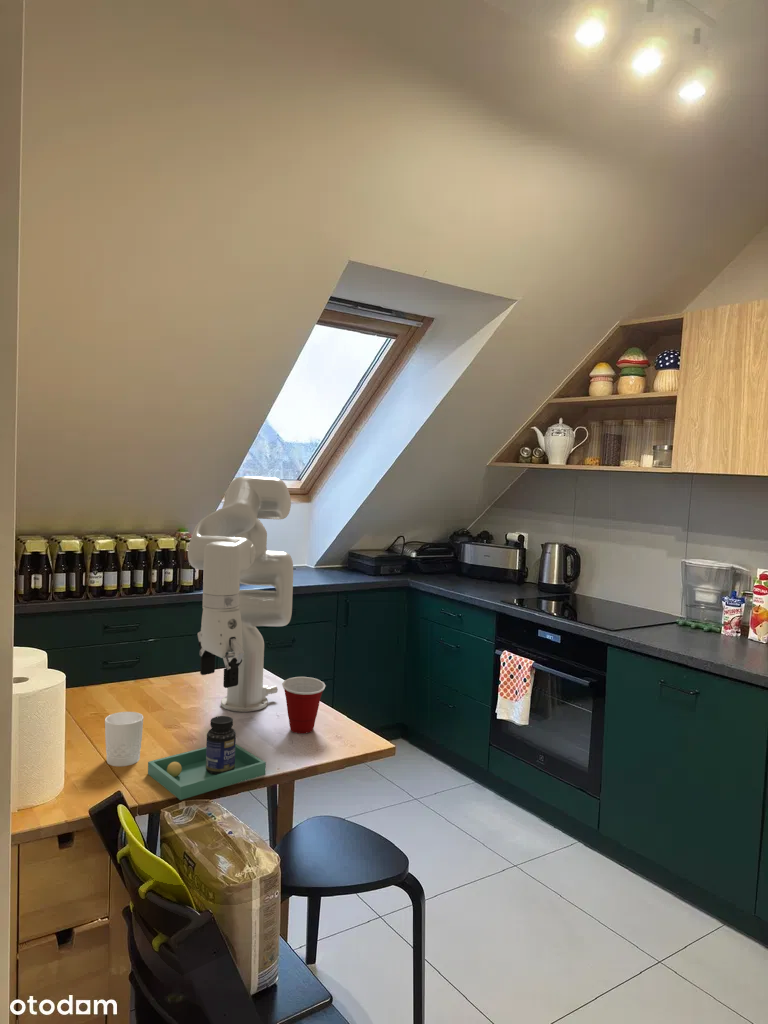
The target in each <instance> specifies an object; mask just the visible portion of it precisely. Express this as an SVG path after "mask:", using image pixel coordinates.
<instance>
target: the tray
mask: <svg viewBox="0 0 768 1024" xmlns="http://www.w3.org/2000/svg"><path fill="white" fill-rule="evenodd" d="M172 762H178V763H180V765H181V767H182V771H181V773H180V774H179V775H178V776H176V777H172V776H171V775H170V774H168V773H167V767H168V765H169V764H170V763H172ZM266 763H267V762H266V761H265V760H263V759H262V758H259V756H256V755H254V754H253V753H251V752H250V751H248V750H247V749H245V748H243V747H242V746H241V745H238V744H237V743H235V768H234V770H231V771H228V772H224V773H221V774H217V775H215V774H211V773H209V772H208V771H207V770H206V746H204V747H201V748H196V749H192V750H189V751H184V752H181V753H176V754H172V755H169V756H165V757H160V758H158V759H153V760H150V761H149V760H148V761H147V775H149V776H150V777H151V778H152V779H153V780H155V781H156V782H157V783H158V784H159V785H161V786H162V787H163V788H165V789H166V790H167V791H168V792H169V793H171V794H172V795H173V796H175V798H177V799H178V800H179V801H182V800H185V799H189V798H193V797H195V796H200V795H202V794H206V793H208V792H212V791H215V790H218V789H221V788H225V787H228V786H232V785H235V784H238V783H241V782H244V781H249V780H250V779H254V778H258V777H261V776H266V770H267V769H266V768H267V767H266V766H267V765H266Z"/></svg>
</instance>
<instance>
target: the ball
mask: <svg viewBox="0 0 768 1024" xmlns="http://www.w3.org/2000/svg"><path fill="white" fill-rule="evenodd" d="M181 771H182V767H181V765H180V763H178V762H172V763H170V764H169V765H168V767H167V773H168V774H170V775H171V776H172V777H176V776H178V775H179V774H180V773H181Z"/></svg>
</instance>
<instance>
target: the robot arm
mask: <svg viewBox="0 0 768 1024" xmlns="http://www.w3.org/2000/svg"><path fill="white" fill-rule="evenodd" d="M290 494H291V493H290V492H289V489H288V487H287V485H286V483H285V482H284V481H283V480H282V479H280V478H277V477H272V476H269V477H268V476H251V475H250V476H248V475H245V476H239V477H236V478H235V479H233V480H232V481H231V482H230V483H229V485H228V488H227V489H226V491H224V496H223V498H224V499H223V500H224V501H223V504H222V507H221V508H220V509H219V508H218V509H217V510H215V511H213V512H211V513H210V514H208V515H207V516H205V517H203V518H201V520H200V521H198V523H197V524H196V525H195V527H194V530H193V533H192V535H191V537H190V540H189V543H188V548H187V559H188V563H189V564H190V566H191V567H192V568H194V569H195V570H199V571H200V570H202V571H203V579H202V582H203V583H202V614H201V625H200V631H199V632H197V639H198V646H199V647H198V648H199V656H200V667H199V668H200V669H199V671H200V672H199V673H200V675H201V676H206V675H210V674H214V673H215V671H216V657H219V658H220V659H222V661H223V663H224V666H225V668H223V685H222V686H223V687H224V688H225V689H227V690H226V691H227V693H226V696H224V697H223V698H221V700H220V705H221V708H223V709H225V710H226V711H227V710H228V711H232V712H240V713H245V712H246V713H248V712H255V711H260V710H262V709H264V708H266V707H268V704H269V699H268V698H267V696H269V695H272V694H276V693H278V687H277V685H274V686H270V687H269V685H263V684H264V663H265V662H264V661H265V660H264V659H265V658H264V657H265V641H264V637H263V635H262V634H261V632H260V631H259V629H258V628H257V627H284V626H287V625H288V624H289V623H290V622H291V619H292V615H293V614H292V613H293V589H294V563H293V559H292V556H291V555H290V553H288V552H285V551H282V550H281V551H280V550H279V551H278V550H268V549H267V546H268V545H267V544H268V543H267V542H268V541H267V540H268V532H267V528H266V527H265V526H264V525H263V523H262V521H261V520H284V519H286V518H287V517H288V516H289V514H290V512H291V507H292V500H291V495H290ZM240 584H241V585H245V586H246V585H248V586H265V587H267V586H268V587H274V589H275V590H261V589H240V588H241V587H240Z"/></svg>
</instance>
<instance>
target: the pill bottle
mask: <svg viewBox="0 0 768 1024" xmlns="http://www.w3.org/2000/svg"><path fill="white" fill-rule="evenodd" d="M209 725H210V727H211V728H210V729H209V730H207V733H206V746H205V747H206V770H207V771H208V772H209V773H211V774H215V775H217V774H221V773H224V772H228V771H231V770H234V768H235V744H236V741H237V740H236V737H237V736H236V735H237V733H236V731H235V729H234V728H232V727H233V725H234V719H233V718H232V717H231V716H226V715H223V716H222V715H221V716H214V717H212V718H210V724H209Z"/></svg>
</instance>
